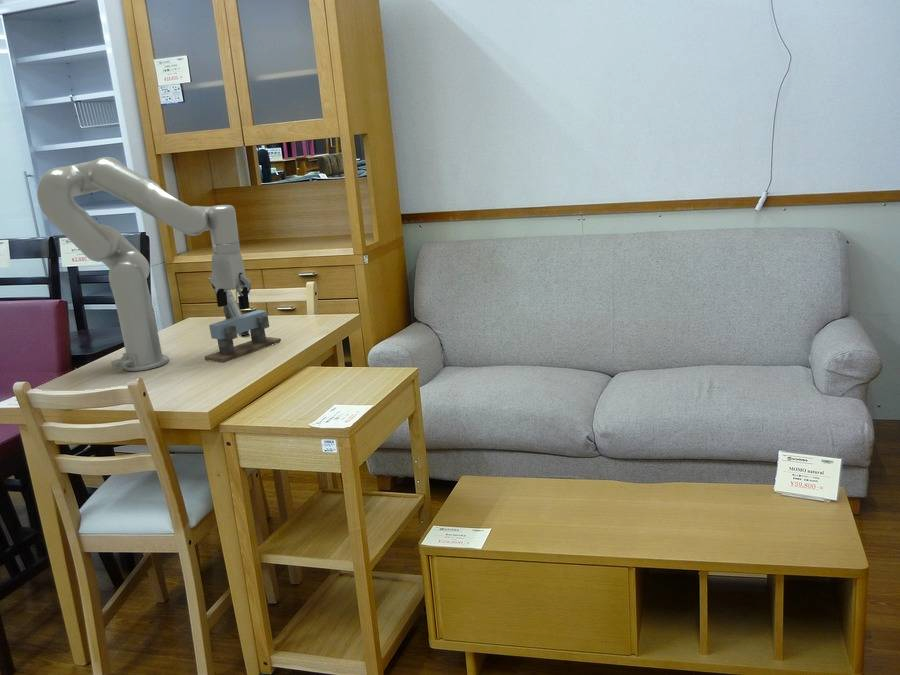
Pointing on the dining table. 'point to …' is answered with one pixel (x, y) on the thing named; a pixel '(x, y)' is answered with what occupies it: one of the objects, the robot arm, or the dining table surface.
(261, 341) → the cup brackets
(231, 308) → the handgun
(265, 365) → the dining table surface
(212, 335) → the rail
